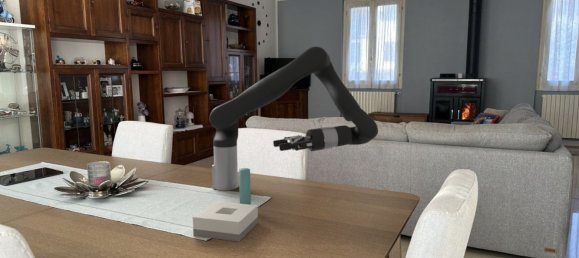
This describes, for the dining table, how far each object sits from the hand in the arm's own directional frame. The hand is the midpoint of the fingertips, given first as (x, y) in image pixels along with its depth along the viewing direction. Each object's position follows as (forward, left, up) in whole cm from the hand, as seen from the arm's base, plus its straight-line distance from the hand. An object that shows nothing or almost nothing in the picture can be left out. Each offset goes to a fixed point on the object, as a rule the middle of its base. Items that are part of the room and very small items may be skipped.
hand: (276, 145), depth 129 cm
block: (-8, -22, -21) cm, 32 cm away
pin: (-9, -6, -21) cm, 24 cm away
